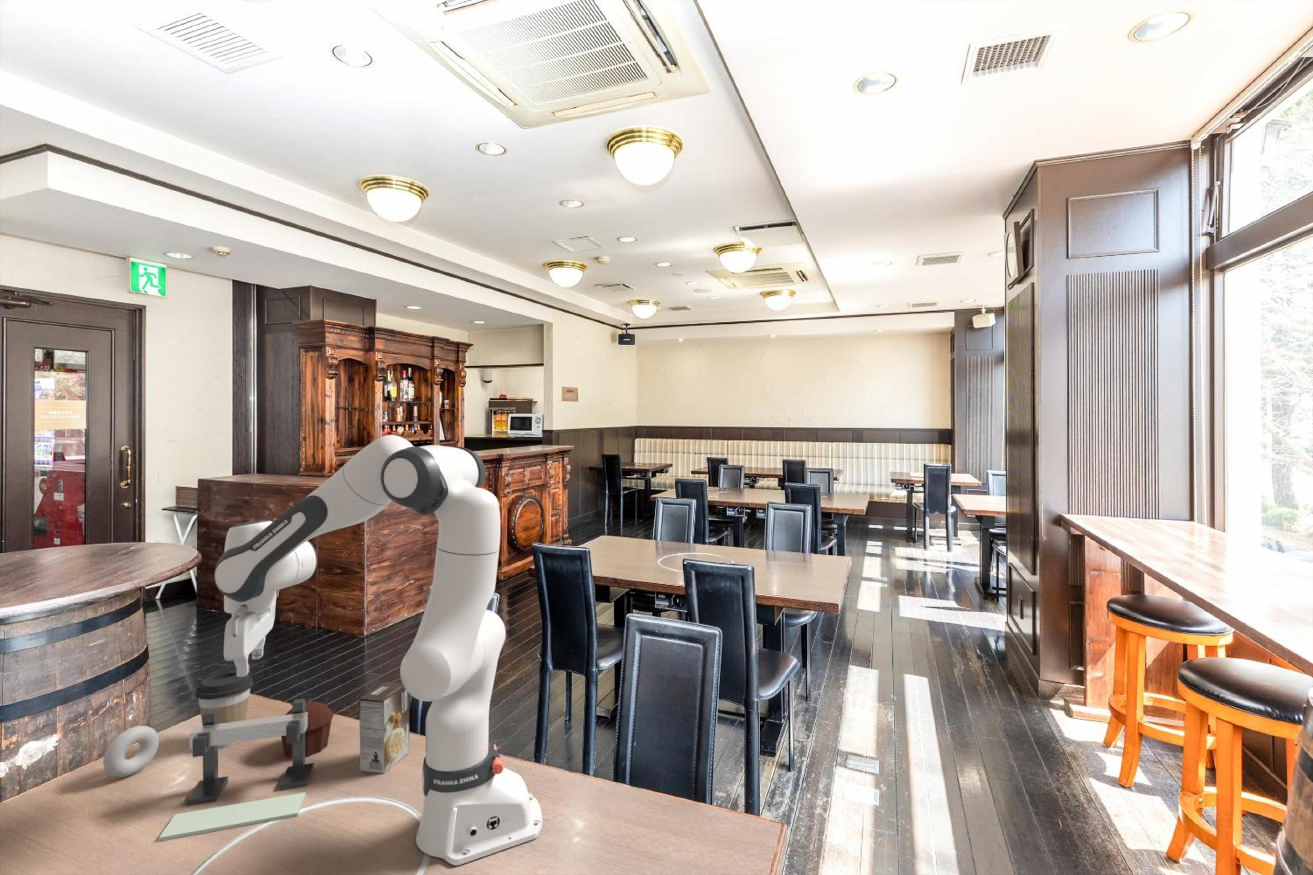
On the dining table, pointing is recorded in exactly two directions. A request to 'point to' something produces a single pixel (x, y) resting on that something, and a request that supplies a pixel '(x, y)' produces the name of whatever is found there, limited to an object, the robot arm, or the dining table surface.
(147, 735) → the donut
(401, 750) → the coffee box
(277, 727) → the rail
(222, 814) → the mat
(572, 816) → the dining table surface
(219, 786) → the rack
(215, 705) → the coffee cup
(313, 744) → the muffin
